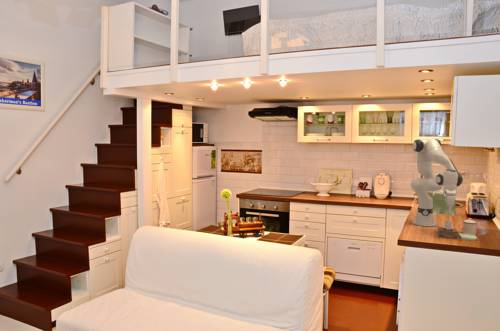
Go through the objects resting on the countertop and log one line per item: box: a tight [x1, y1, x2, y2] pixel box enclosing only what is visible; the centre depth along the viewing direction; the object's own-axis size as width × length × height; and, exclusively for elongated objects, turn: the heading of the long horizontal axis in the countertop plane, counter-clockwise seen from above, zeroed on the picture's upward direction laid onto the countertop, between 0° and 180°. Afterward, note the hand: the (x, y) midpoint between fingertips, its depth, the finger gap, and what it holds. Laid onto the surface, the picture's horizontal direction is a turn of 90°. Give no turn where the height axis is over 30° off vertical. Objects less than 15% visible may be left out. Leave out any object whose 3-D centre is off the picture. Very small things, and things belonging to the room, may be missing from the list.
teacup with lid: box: [458, 217, 477, 236], centre depth 293 cm, size 12×9×12 cm
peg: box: [444, 220, 453, 231], centre depth 282 cm, size 4×4×11 cm
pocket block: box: [437, 226, 459, 240], centre depth 282 cm, size 12×12×5 cm
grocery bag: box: [427, 189, 457, 216], centre depth 375 cm, size 32×14×23 cm, turn 71°
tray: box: [458, 232, 478, 242], centre depth 278 cm, size 12×10×2 cm
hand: (449, 210), depth 281 cm, fingers open, 8 cm apart
